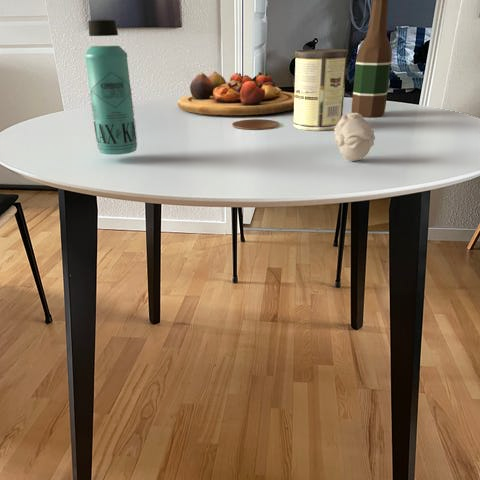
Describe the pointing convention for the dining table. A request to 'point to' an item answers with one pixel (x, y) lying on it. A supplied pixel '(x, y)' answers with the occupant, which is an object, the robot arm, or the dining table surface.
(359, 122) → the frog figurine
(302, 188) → the dining table surface
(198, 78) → the wooden plate
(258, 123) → the coaster
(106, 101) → the beverage bottle
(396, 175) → the dining table surface
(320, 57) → the coffee can
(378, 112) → the beer bottle
